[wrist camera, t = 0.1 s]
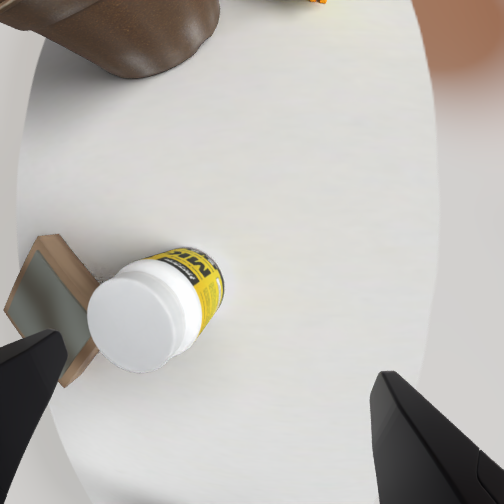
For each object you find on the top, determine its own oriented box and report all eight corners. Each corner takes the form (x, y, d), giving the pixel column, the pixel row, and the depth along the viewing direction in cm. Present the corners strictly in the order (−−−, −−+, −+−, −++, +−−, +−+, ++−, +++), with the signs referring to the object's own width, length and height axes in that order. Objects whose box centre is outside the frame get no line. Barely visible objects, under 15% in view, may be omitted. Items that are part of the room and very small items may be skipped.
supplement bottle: (232, 254, 23) (194, 284, 12) (220, 326, 23) (180, 397, 13) (159, 239, 23) (80, 256, 13) (151, 309, 24) (80, 361, 14)
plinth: (80, 375, 25) (62, 389, 22) (21, 303, 25) (1, 310, 22) (128, 315, 24) (109, 327, 21) (58, 233, 24) (35, 236, 21)
